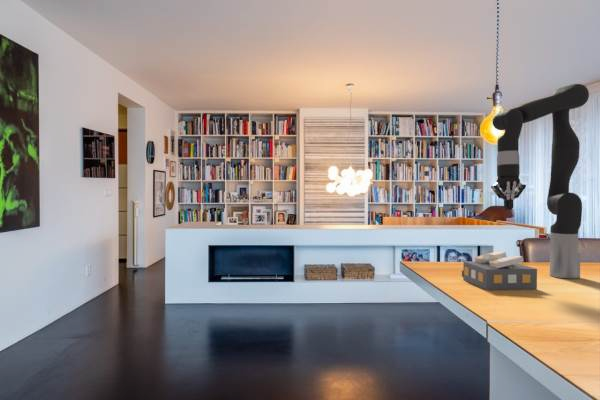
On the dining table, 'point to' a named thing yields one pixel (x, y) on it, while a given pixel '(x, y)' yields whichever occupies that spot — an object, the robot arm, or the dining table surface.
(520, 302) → the dining table surface
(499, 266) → the rocker
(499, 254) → the white rectangular block
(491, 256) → the rocker
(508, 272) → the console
